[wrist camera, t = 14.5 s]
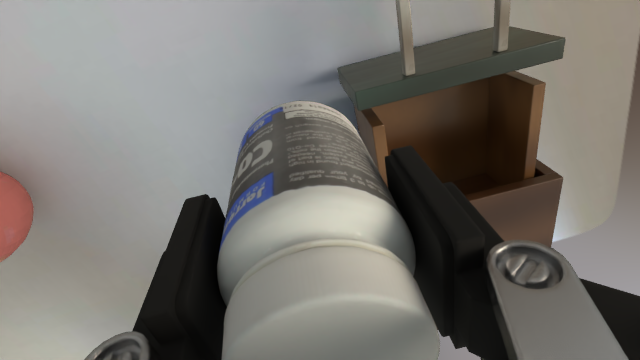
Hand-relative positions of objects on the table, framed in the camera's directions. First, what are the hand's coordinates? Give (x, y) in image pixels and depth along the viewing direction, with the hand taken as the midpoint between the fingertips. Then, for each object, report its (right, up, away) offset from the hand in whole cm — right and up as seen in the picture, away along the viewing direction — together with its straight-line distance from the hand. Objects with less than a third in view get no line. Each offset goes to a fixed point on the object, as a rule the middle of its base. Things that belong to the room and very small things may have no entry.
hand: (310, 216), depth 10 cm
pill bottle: (0, +2, +3) cm, 4 cm away
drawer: (+8, +8, +17) cm, 20 cm away
